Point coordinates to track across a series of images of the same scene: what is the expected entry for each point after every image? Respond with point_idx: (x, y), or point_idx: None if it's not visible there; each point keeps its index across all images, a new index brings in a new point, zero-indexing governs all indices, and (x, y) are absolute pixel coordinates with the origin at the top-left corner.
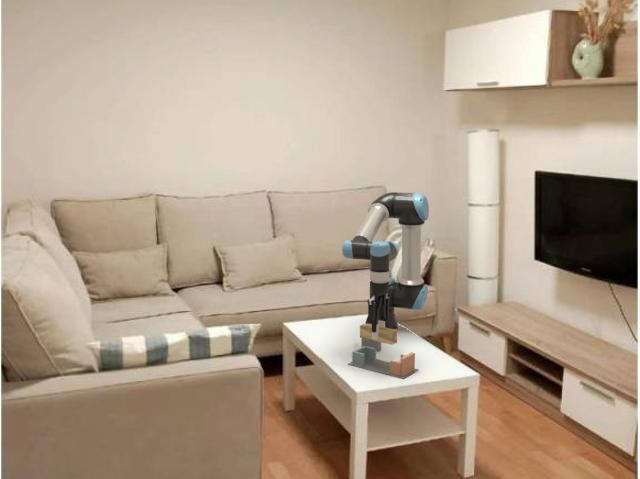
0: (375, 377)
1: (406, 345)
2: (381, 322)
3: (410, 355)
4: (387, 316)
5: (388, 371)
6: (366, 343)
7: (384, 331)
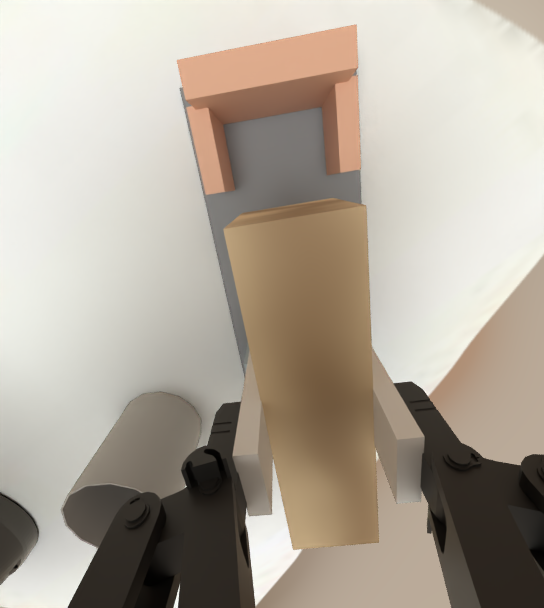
0: (424, 194)
1: (5, 363)
2: (265, 468)
3: (249, 46)
4: (145, 522)
5: (324, 196)
6: (190, 444)
7: (369, 315)
